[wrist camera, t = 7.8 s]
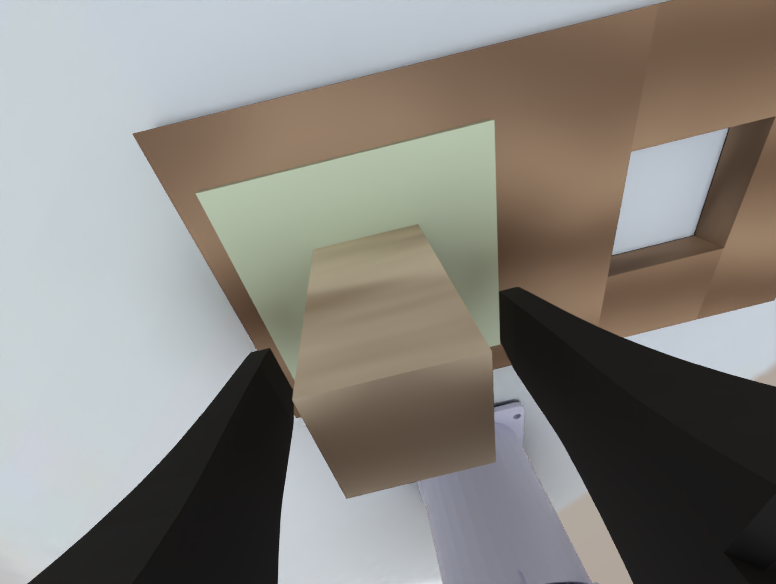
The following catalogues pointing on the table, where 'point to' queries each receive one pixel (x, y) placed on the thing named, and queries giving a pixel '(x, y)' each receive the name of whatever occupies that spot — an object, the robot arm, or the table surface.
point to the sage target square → (365, 221)
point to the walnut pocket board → (544, 156)
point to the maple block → (392, 366)
